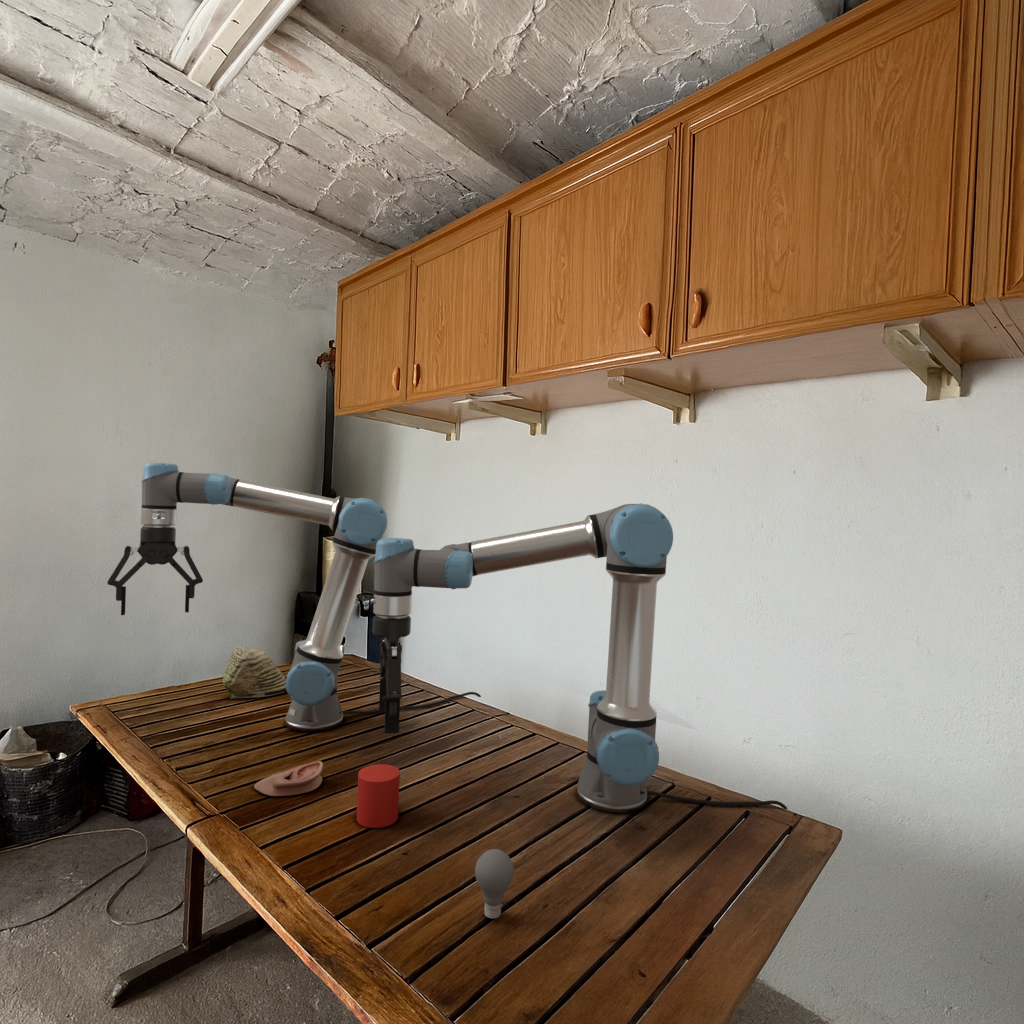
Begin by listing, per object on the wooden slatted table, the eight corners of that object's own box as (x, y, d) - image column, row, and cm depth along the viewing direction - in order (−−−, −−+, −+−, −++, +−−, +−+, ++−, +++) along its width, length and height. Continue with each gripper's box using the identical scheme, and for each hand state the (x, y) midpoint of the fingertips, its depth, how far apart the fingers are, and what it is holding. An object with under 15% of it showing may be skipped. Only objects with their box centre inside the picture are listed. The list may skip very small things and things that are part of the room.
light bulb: (472, 903, 100) (475, 841, 100) (510, 903, 101) (513, 841, 101) (473, 929, 94) (476, 863, 94) (513, 928, 95) (516, 862, 95)
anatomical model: (246, 773, 134) (276, 753, 145) (245, 792, 134) (276, 770, 145) (303, 782, 131) (330, 760, 142) (302, 801, 131) (329, 777, 142)
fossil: (218, 695, 195) (220, 647, 195) (278, 685, 208) (279, 640, 207) (228, 703, 189) (230, 653, 188) (289, 692, 201) (290, 645, 201)
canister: (347, 819, 125) (349, 774, 125) (377, 803, 132) (379, 760, 132) (377, 832, 121) (379, 785, 120) (406, 815, 127) (408, 771, 127)
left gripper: (96, 526, 145) (93, 618, 145) (216, 528, 157) (213, 613, 158) (98, 524, 152) (96, 612, 152) (213, 526, 164) (210, 607, 164)
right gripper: (369, 604, 138) (366, 701, 138) (377, 628, 114) (373, 745, 114) (404, 604, 140) (400, 700, 140) (419, 627, 116) (415, 742, 116)
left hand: (155, 613), depth 155 cm, fingers open, 13 cm apart
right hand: (388, 720), depth 127 cm, fingers open, 13 cm apart
